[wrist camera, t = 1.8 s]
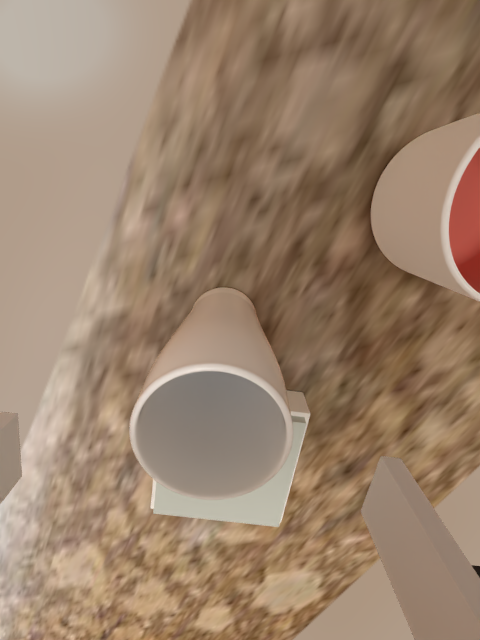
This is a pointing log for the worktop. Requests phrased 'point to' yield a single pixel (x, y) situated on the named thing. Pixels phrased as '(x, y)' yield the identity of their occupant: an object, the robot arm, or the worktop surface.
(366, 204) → the worktop surface
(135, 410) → the drinking glass
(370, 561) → the worktop surface
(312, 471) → the worktop surface
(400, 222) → the cup
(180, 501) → the coaster
